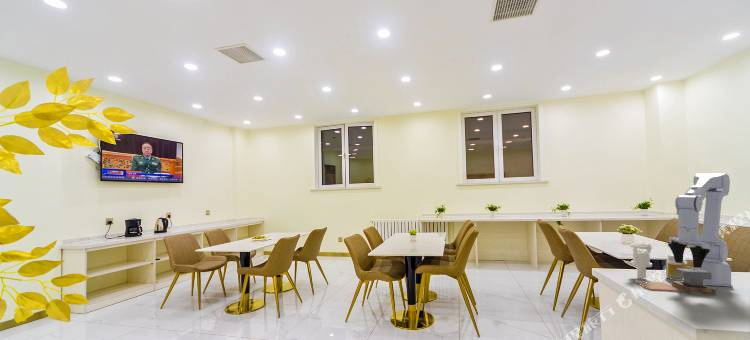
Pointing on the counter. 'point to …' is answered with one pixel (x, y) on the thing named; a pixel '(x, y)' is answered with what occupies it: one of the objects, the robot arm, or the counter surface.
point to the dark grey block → (693, 276)
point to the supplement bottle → (672, 268)
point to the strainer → (641, 258)
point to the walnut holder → (694, 289)
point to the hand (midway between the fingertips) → (687, 265)
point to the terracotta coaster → (658, 286)
